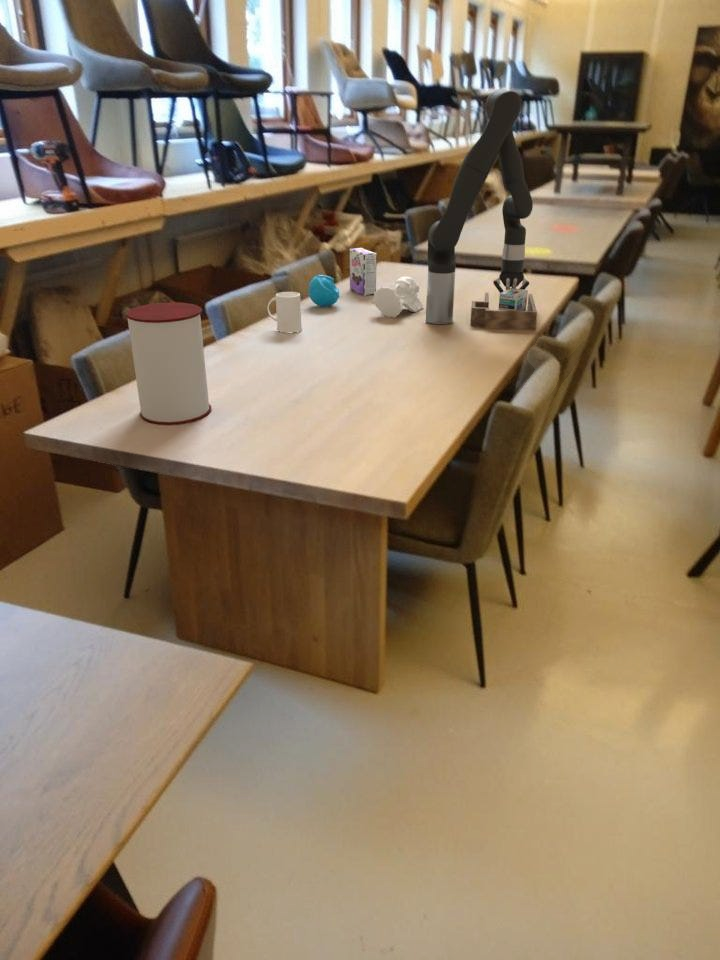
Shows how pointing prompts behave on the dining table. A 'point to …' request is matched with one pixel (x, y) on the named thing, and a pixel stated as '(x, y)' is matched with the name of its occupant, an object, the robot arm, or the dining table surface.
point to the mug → (287, 311)
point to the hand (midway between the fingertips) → (509, 307)
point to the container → (169, 362)
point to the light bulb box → (513, 300)
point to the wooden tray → (503, 316)
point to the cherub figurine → (398, 297)
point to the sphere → (323, 291)
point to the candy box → (363, 271)
